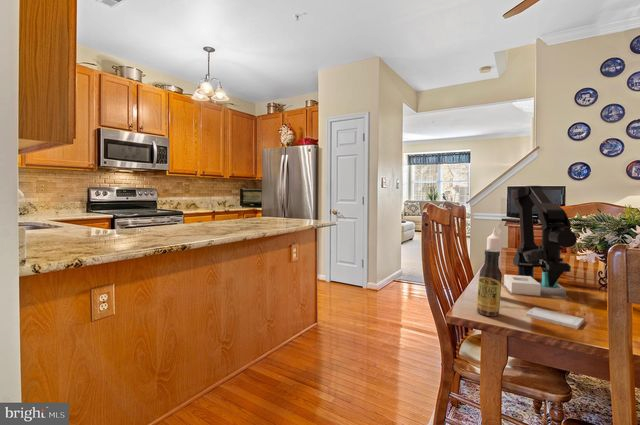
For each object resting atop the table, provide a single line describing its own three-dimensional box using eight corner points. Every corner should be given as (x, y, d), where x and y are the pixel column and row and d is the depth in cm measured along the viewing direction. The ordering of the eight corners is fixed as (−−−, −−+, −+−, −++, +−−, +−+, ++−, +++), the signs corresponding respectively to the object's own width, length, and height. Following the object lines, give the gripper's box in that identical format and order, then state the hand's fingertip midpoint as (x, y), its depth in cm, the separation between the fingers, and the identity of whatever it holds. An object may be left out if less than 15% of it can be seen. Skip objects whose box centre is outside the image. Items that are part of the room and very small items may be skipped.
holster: (533, 288, 122) (534, 281, 122) (558, 290, 120) (558, 283, 120) (539, 293, 116) (540, 286, 116) (565, 295, 114) (565, 288, 113)
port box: (503, 284, 128) (504, 274, 128) (530, 286, 125) (530, 276, 125) (511, 293, 117) (511, 282, 116) (540, 295, 114) (540, 284, 113)
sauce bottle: (473, 313, 99) (475, 249, 98) (480, 308, 104) (482, 247, 103) (496, 319, 95) (498, 252, 94) (503, 314, 99) (505, 250, 98)
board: (501, 285, 130) (501, 282, 130) (555, 289, 124) (555, 287, 124) (511, 297, 115) (511, 294, 115) (573, 303, 109) (573, 300, 109)
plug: (541, 290, 120) (542, 271, 120) (554, 291, 119) (554, 272, 118) (544, 292, 117) (544, 273, 117) (557, 293, 116) (558, 274, 116)
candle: (500, 296, 116) (503, 227, 114) (506, 303, 109) (509, 229, 107) (479, 295, 118) (481, 227, 116) (483, 301, 111) (485, 229, 109)
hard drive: (526, 312, 97) (577, 325, 88) (534, 306, 103) (584, 317, 93) (525, 318, 98) (577, 331, 88) (534, 311, 103) (584, 323, 94)
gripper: (518, 238, 128) (517, 277, 129) (533, 245, 111) (531, 290, 112) (551, 239, 125) (550, 279, 126) (572, 247, 107) (570, 293, 108)
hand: (549, 285), depth 118 cm, fingers closed on plug, 3 cm apart
